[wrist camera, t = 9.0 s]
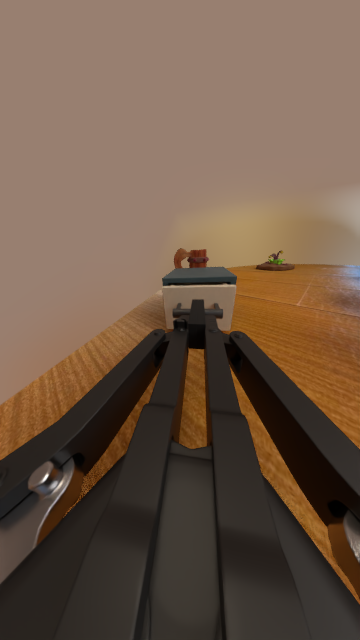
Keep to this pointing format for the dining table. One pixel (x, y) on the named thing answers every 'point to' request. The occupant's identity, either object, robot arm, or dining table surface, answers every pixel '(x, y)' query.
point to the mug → (191, 258)
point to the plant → (275, 264)
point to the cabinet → (199, 276)
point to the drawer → (213, 293)
